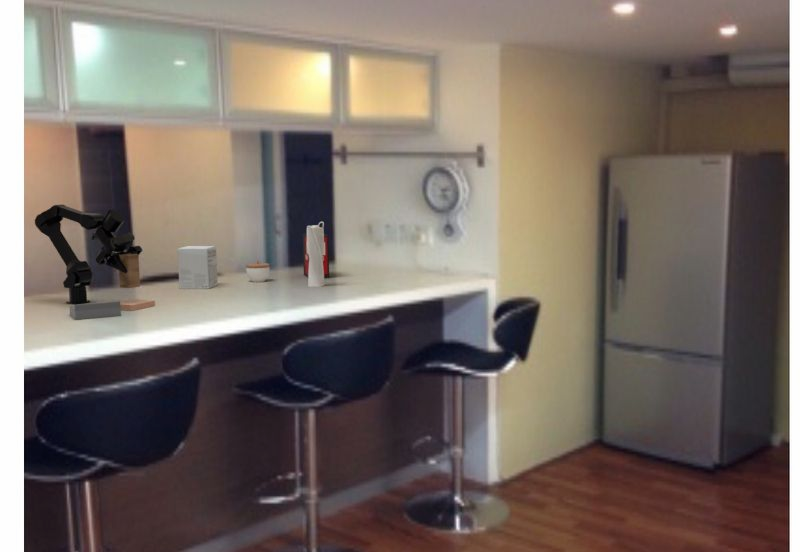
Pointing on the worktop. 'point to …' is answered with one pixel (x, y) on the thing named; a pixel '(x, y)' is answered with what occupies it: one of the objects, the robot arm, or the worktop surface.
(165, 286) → the worktop surface
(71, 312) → the slate shelf ledge
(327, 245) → the cleaning product box
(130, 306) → the terracotta tile stand
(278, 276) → the worktop surface
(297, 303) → the worktop surface
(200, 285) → the supplement box
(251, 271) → the lidded jar
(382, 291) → the worktop surface
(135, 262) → the walnut block
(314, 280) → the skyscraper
